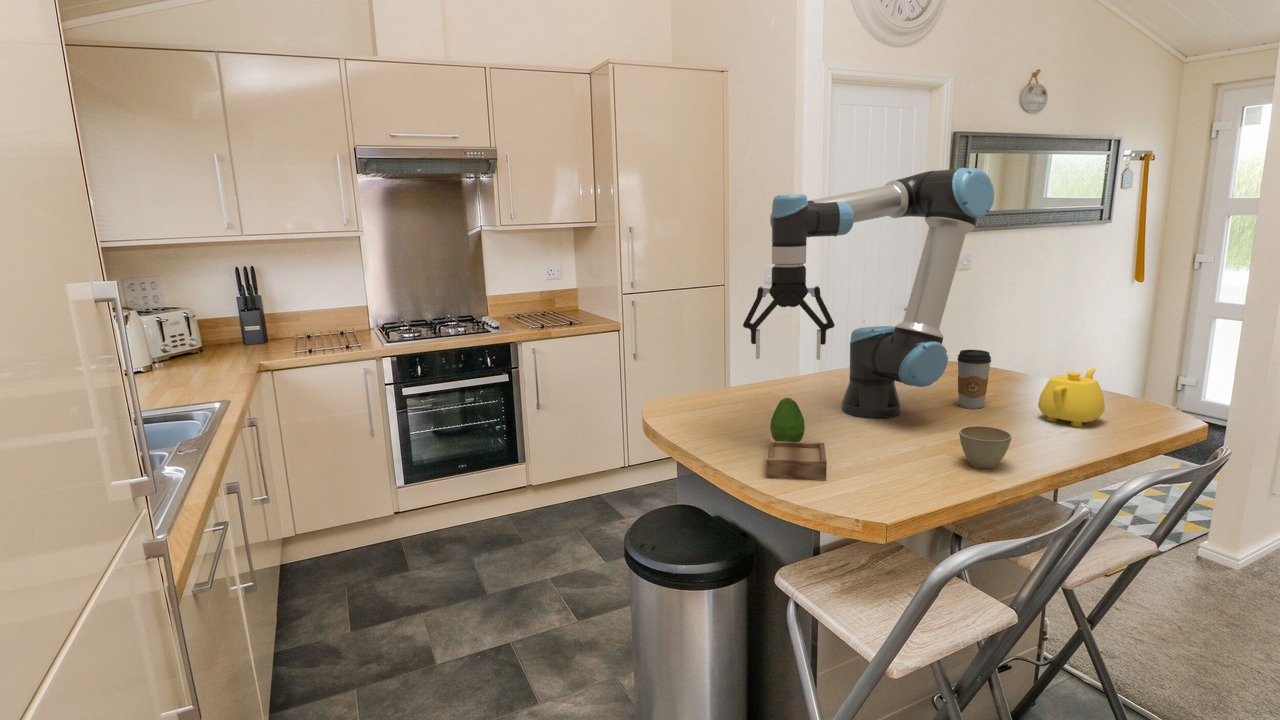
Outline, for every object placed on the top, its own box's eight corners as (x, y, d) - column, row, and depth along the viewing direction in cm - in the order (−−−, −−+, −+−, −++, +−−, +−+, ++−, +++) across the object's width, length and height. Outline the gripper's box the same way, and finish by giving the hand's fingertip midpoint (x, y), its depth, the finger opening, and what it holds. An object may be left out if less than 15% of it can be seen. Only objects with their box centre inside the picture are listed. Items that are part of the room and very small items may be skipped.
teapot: (1117, 418, 177) (1123, 370, 174) (1081, 434, 165) (1086, 384, 163) (1061, 407, 187) (1066, 362, 185) (1023, 421, 176) (1027, 374, 174)
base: (823, 459, 155) (824, 442, 155) (826, 480, 144) (826, 462, 143) (769, 457, 158) (769, 440, 157) (767, 477, 146) (767, 459, 146)
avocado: (783, 454, 160) (783, 404, 157) (763, 444, 167) (764, 396, 164) (811, 448, 163) (812, 399, 160) (791, 439, 170) (792, 391, 167)
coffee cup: (954, 408, 189) (958, 354, 186) (953, 400, 197) (957, 348, 194) (989, 411, 186) (993, 356, 183) (986, 402, 194) (990, 349, 190)
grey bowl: (948, 458, 154) (950, 427, 152) (991, 455, 155) (993, 424, 153) (973, 474, 144) (975, 441, 142) (1019, 471, 145) (1022, 438, 143)
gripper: (845, 263, 157) (843, 355, 161) (734, 264, 162) (734, 354, 166) (848, 265, 149) (845, 362, 154) (731, 267, 155) (731, 360, 159)
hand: (787, 358), depth 160 cm, fingers open, 13 cm apart
